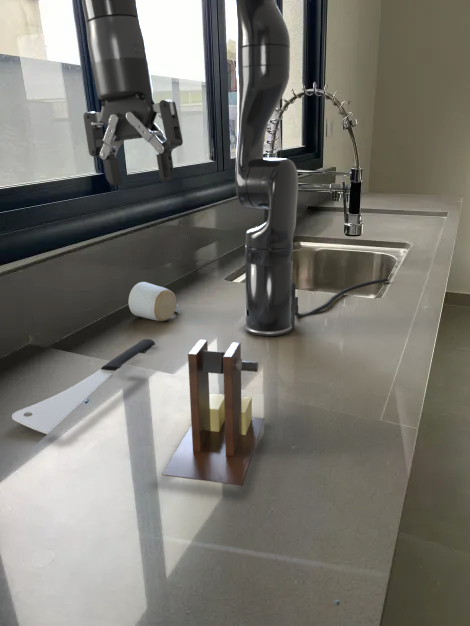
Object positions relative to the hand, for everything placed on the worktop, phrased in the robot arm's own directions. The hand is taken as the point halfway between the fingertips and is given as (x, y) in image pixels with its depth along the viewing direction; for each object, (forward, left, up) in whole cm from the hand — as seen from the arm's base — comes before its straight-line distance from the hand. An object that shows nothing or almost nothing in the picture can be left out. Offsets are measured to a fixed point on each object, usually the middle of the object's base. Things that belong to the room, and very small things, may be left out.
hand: (140, 183), depth 72 cm
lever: (+2, +22, -22) cm, 31 cm away
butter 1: (+3, +21, -29) cm, 36 cm away
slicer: (+6, +25, -31) cm, 40 cm away
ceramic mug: (-15, -25, -31) cm, 43 cm away
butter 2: (+1, +23, -29) cm, 37 cm away
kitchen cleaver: (+8, -1, -31) cm, 32 cm away
